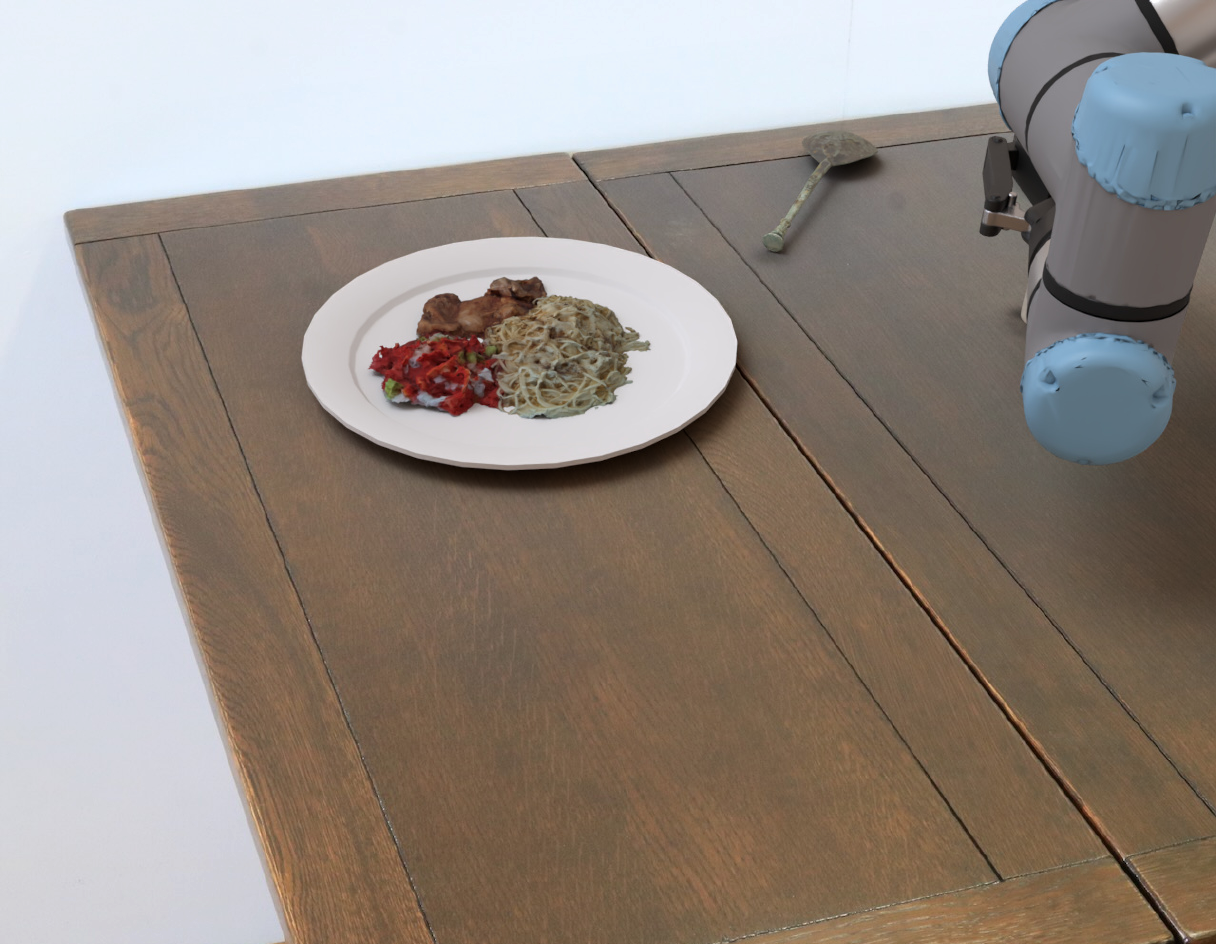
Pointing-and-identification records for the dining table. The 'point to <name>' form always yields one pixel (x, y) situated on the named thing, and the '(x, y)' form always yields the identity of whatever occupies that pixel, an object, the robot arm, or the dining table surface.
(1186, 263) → the robot arm
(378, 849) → the dining table surface
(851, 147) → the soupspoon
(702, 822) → the dining table surface
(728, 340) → the plated food
